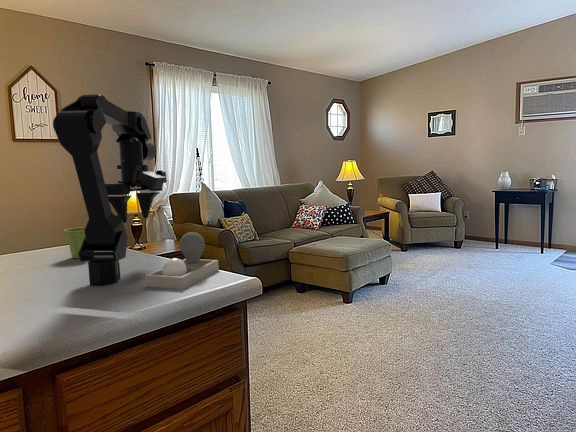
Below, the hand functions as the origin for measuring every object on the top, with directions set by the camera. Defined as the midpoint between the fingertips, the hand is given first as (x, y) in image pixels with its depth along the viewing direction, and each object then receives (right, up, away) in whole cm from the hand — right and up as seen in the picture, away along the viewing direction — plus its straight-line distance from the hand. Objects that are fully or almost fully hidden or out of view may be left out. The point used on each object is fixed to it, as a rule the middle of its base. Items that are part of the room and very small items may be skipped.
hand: (135, 220), depth 117 cm
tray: (+16, -14, -14) cm, 26 cm away
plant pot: (-22, -12, +17) cm, 30 cm away
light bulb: (+18, -13, -10) cm, 24 cm away
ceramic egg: (+15, -14, -18) cm, 27 cm away
